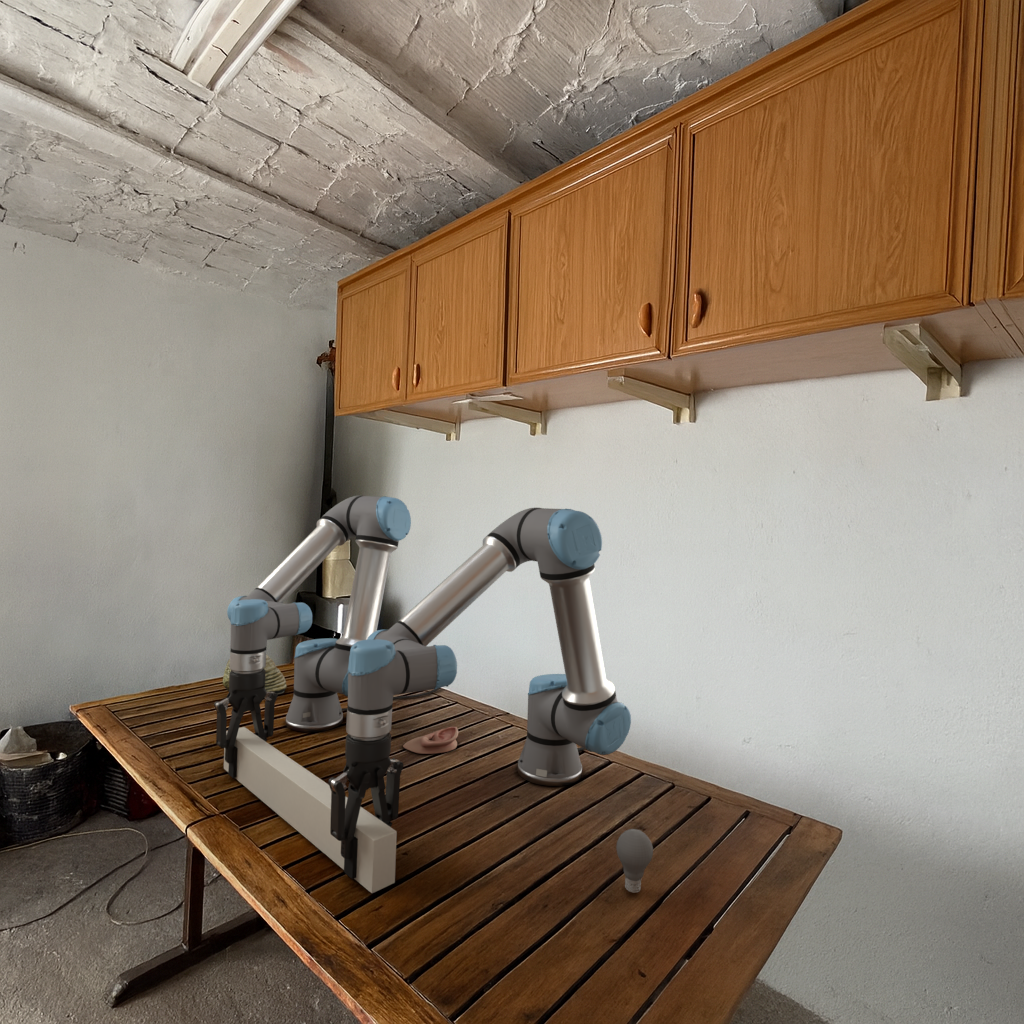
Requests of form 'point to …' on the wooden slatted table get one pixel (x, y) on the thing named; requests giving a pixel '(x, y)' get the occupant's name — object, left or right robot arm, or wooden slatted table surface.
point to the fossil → (272, 677)
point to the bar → (313, 809)
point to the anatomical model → (434, 742)
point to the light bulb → (634, 857)
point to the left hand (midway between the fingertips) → (244, 772)
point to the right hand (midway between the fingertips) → (363, 868)
